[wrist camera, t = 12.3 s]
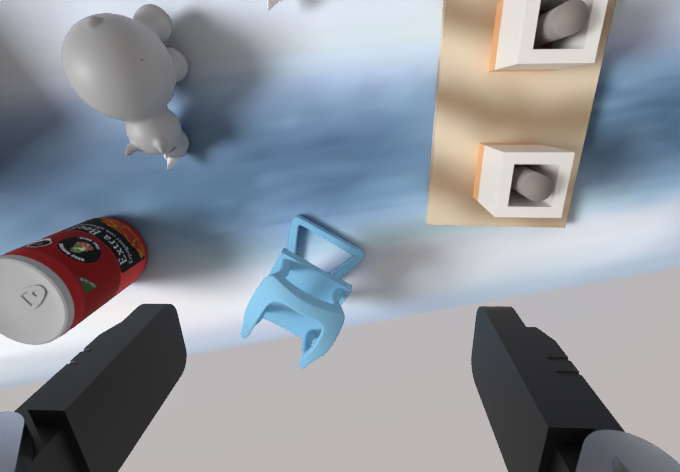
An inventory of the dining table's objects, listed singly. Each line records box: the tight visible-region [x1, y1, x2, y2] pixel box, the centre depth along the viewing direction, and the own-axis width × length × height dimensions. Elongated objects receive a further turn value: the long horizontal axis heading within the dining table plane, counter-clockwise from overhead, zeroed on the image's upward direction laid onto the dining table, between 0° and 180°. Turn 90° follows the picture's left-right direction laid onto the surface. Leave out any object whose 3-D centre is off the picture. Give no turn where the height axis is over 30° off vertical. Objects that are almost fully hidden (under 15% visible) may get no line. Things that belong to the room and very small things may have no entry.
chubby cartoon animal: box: [62, 4, 189, 169], centre depth 29 cm, size 7×12×8 cm, turn 4°
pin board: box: [426, 0, 616, 228], centre depth 26 cm, size 20×12×8 cm, turn 0°
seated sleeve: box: [489, 0, 608, 72], centre depth 24 cm, size 5×5×6 cm
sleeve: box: [473, 143, 575, 218], centre depth 28 cm, size 5×5×6 cm
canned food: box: [0, 217, 148, 345], centre depth 33 cm, size 8×8×11 cm
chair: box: [240, 215, 364, 368], centre depth 31 cm, size 8×8×12 cm
